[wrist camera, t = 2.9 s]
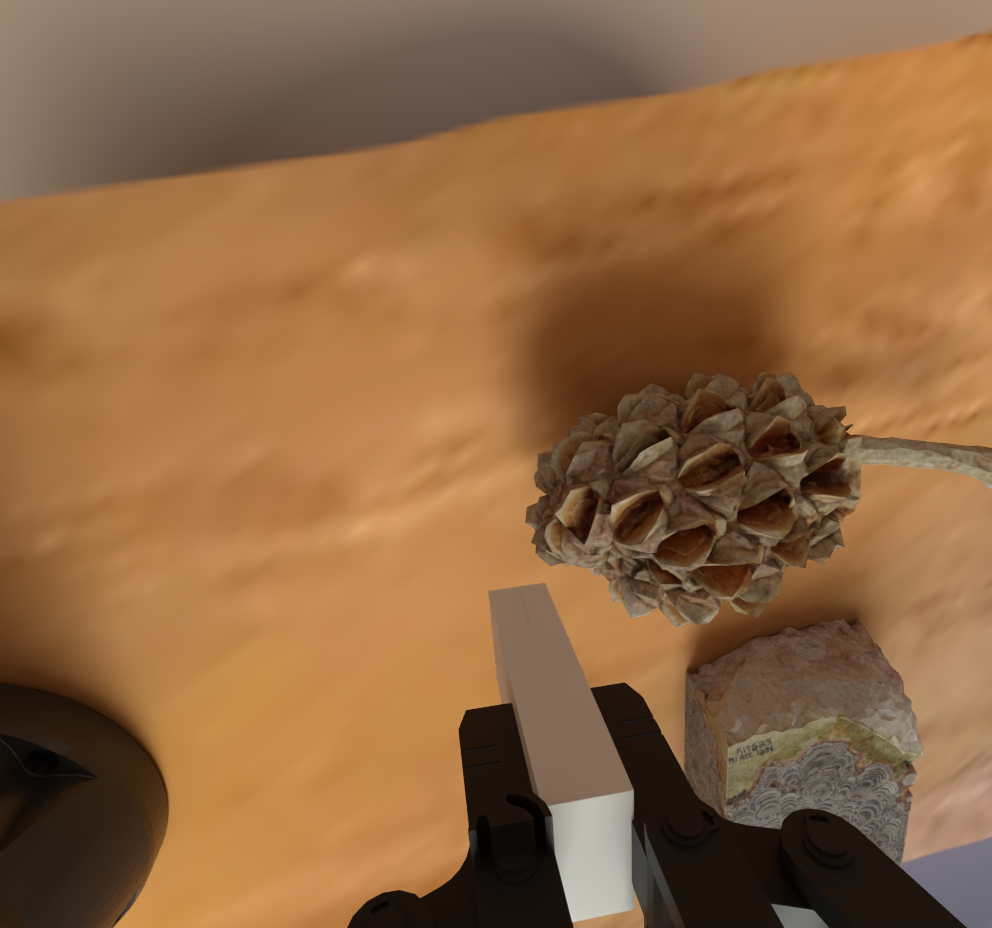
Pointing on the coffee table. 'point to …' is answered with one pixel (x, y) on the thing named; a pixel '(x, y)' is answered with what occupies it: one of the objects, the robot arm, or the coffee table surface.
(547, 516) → the pine cone
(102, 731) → the robot arm
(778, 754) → the geological specimen
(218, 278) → the coffee table surface
